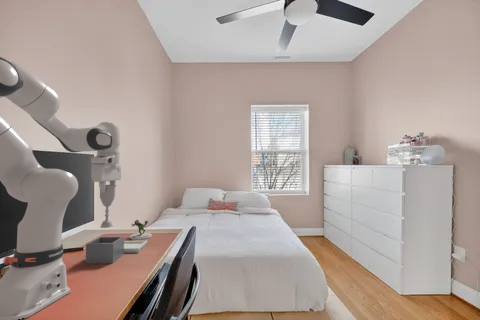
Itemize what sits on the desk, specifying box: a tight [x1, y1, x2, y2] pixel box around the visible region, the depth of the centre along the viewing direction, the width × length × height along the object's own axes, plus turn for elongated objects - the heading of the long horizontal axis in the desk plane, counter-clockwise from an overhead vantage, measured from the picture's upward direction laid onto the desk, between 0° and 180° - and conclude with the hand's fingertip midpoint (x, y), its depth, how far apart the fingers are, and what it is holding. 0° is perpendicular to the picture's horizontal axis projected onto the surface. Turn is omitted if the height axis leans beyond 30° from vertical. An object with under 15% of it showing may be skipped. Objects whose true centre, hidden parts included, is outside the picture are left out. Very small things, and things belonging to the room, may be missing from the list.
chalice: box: [98, 184, 117, 229], centre depth 112 cm, size 7×7×18 cm
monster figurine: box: [129, 219, 153, 241], centre depth 147 cm, size 12×12×10 cm
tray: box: [124, 240, 148, 254], centre depth 125 cm, size 13×13×2 cm
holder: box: [85, 236, 125, 264], centre depth 111 cm, size 11×11×8 cm
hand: (107, 191), depth 112 cm, fingers closed on chalice, 6 cm apart
